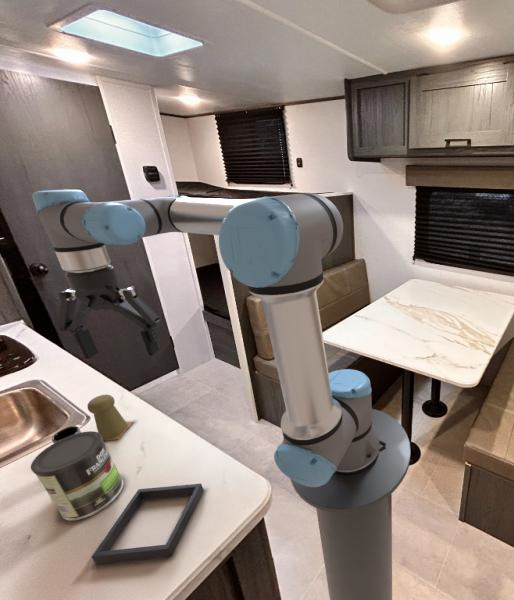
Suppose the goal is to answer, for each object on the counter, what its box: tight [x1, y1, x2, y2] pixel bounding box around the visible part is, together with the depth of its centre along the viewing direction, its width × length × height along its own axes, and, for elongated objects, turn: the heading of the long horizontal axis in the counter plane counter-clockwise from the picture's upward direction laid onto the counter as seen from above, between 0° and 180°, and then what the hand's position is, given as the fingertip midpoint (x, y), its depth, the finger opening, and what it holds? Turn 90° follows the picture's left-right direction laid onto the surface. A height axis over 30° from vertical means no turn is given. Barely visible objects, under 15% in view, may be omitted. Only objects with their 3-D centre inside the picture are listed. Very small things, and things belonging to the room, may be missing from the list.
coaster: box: [103, 421, 134, 442], centre depth 86 cm, size 6×6×1 cm
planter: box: [51, 425, 82, 444], centre depth 74 cm, size 4×4×10 cm
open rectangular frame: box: [91, 483, 205, 566], centre depth 64 cm, size 13×13×2 cm
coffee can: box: [30, 430, 124, 521], centre depth 66 cm, size 10×10×14 cm
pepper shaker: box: [87, 394, 128, 439], centre depth 84 cm, size 6×6×11 cm
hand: (123, 354), depth 74 cm, fingers open, 13 cm apart
